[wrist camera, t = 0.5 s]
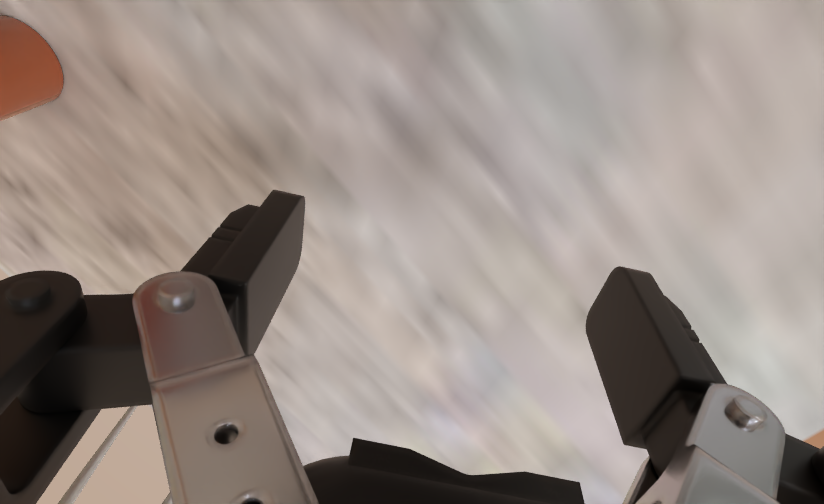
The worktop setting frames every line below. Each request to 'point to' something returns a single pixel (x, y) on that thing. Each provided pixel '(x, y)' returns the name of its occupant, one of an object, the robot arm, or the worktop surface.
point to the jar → (26, 69)
